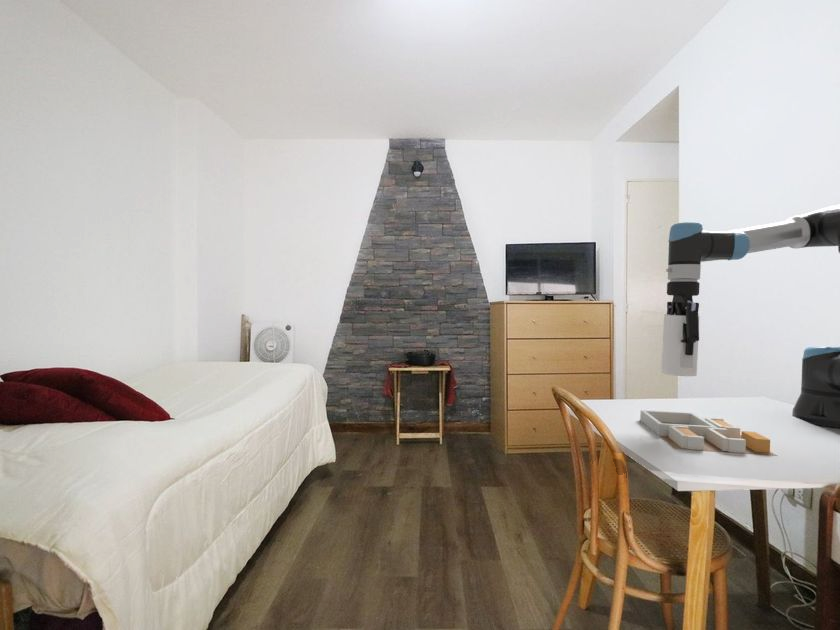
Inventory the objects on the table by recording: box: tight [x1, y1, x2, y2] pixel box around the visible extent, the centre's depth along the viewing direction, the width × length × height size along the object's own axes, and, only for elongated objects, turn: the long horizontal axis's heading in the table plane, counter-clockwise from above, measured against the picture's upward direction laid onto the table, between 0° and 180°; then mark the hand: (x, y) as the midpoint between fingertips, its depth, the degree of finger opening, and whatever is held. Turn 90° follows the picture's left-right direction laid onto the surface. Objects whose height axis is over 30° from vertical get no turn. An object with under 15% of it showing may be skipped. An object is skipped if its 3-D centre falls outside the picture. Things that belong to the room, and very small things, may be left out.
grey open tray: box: [706, 428, 746, 454], centre depth 107 cm, size 4×9×3 cm, turn 171°
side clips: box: [669, 417, 741, 451], centre depth 112 cm, size 18×19×3 cm
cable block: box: [740, 430, 771, 452], centre depth 105 cm, size 3×6×3 cm, turn 171°
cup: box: [661, 313, 700, 377], centre depth 118 cm, size 8×8×16 cm
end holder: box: [639, 409, 718, 438], centre depth 119 cm, size 14×14×3 cm
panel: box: [645, 422, 778, 457], centre depth 114 cm, size 22×24×1 cm
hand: (679, 364), depth 118 cm, fingers closed on cup, 8 cm apart
